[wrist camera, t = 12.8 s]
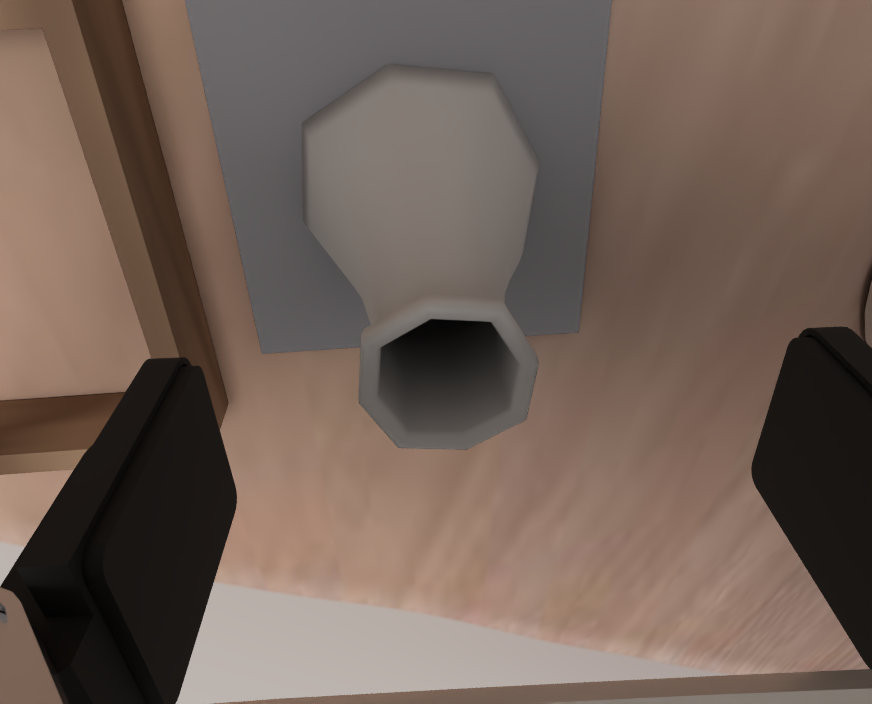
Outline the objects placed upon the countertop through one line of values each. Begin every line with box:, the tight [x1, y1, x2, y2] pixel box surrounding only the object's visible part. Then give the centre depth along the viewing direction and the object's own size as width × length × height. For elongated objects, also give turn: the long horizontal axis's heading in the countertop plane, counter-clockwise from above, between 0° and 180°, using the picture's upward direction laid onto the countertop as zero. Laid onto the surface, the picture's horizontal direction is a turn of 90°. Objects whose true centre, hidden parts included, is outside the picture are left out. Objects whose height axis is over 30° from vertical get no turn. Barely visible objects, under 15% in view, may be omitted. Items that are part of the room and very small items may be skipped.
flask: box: [302, 64, 540, 450], centre depth 15 cm, size 7×7×10 cm
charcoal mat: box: [185, 0, 612, 354], centre depth 20 cm, size 11×11×1 cm
